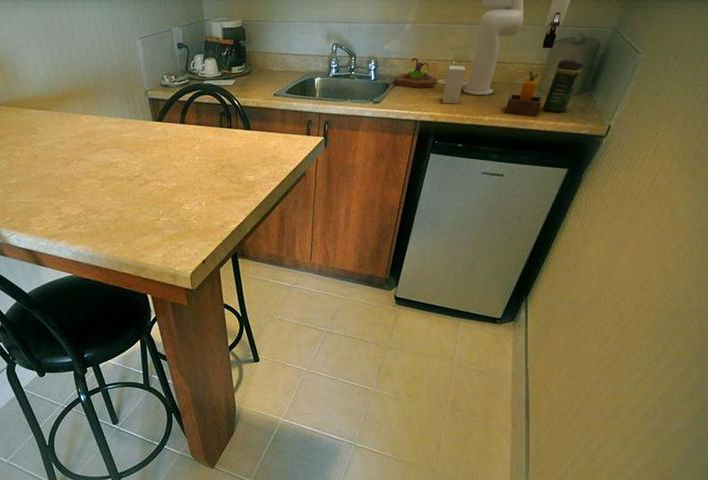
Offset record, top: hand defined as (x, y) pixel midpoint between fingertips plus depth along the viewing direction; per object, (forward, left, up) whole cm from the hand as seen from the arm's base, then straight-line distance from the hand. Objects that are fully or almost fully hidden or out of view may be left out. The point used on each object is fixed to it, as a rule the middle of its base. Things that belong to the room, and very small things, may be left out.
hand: (547, 46), depth 148 cm
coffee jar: (+10, +7, -23) cm, 26 cm away
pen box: (-2, -2, -23) cm, 23 cm away
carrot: (-2, -2, -23) cm, 23 cm away
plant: (-53, +31, -23) cm, 66 cm away
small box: (-30, +3, -23) cm, 38 cm away
